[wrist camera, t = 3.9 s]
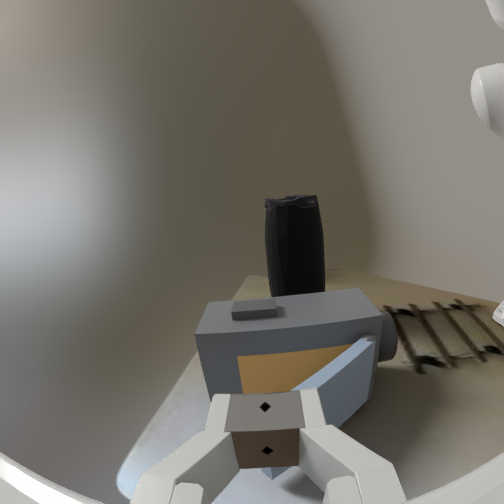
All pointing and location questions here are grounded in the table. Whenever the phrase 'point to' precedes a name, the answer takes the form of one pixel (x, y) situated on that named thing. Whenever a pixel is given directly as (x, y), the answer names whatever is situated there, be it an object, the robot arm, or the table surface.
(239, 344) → the camcorder body
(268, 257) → the portable speaker
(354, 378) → the side panel
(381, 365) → the table surface
